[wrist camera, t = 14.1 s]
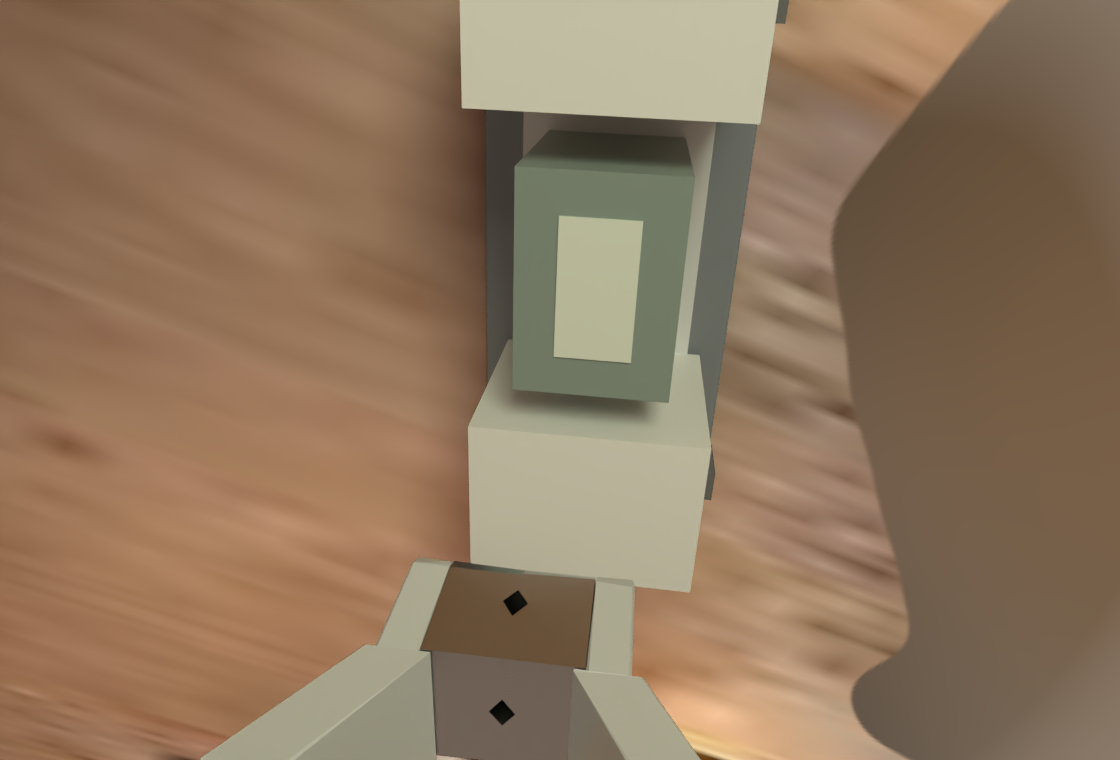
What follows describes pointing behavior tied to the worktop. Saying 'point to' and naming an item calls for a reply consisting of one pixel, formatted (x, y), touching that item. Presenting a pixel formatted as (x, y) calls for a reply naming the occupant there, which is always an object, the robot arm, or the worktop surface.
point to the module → (599, 263)
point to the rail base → (713, 242)
